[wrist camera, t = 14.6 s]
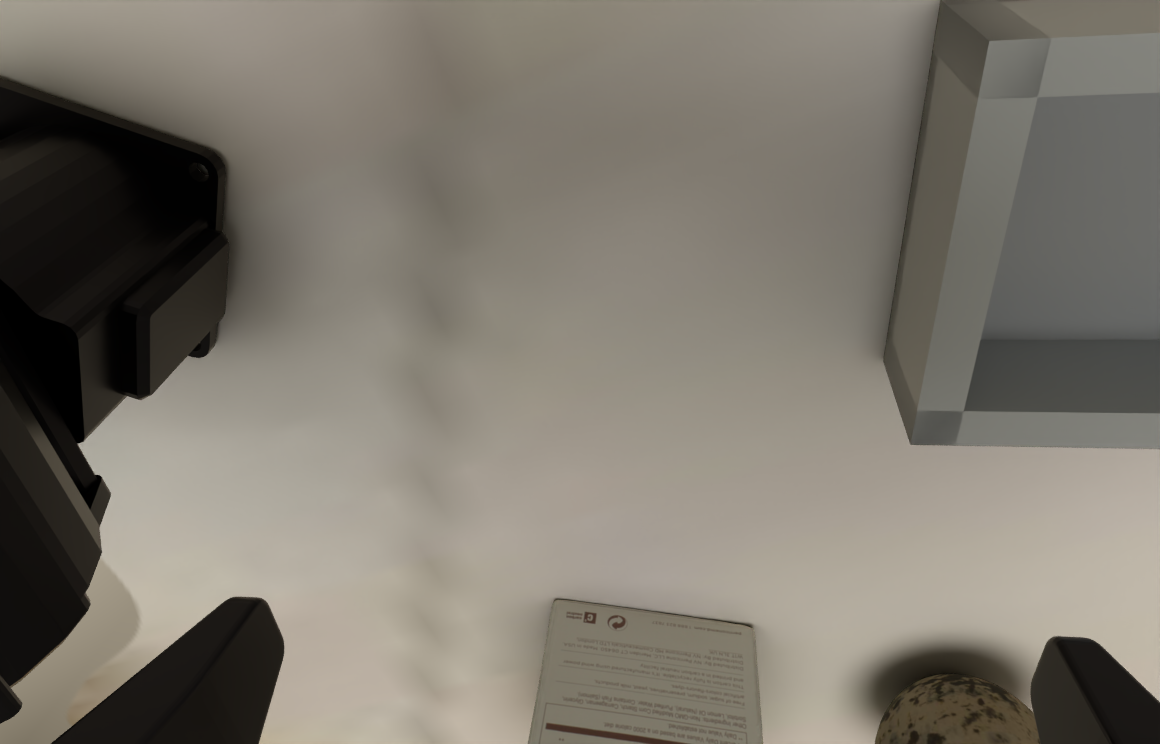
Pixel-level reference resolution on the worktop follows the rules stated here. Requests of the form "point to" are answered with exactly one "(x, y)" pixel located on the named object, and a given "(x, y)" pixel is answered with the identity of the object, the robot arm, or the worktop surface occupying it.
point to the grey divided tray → (1034, 230)
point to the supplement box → (645, 679)
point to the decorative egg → (957, 714)
